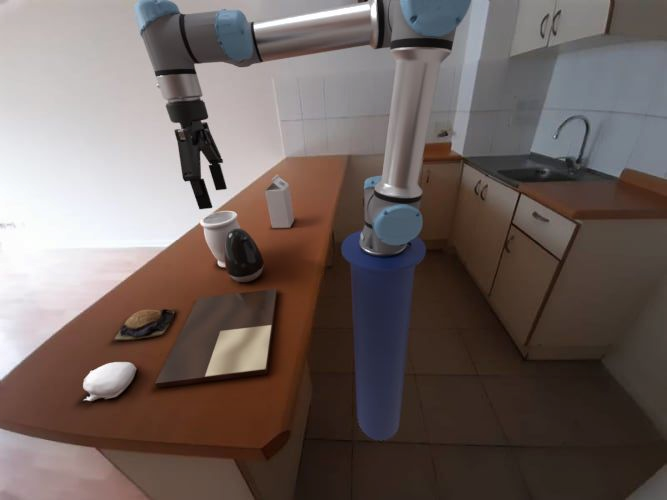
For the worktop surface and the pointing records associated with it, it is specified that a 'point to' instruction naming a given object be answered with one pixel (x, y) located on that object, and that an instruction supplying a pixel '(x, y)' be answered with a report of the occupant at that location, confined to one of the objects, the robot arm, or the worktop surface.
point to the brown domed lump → (145, 324)
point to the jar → (218, 232)
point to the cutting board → (222, 339)
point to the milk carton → (279, 203)
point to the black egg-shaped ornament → (242, 256)
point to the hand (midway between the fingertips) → (214, 198)
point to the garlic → (109, 380)
